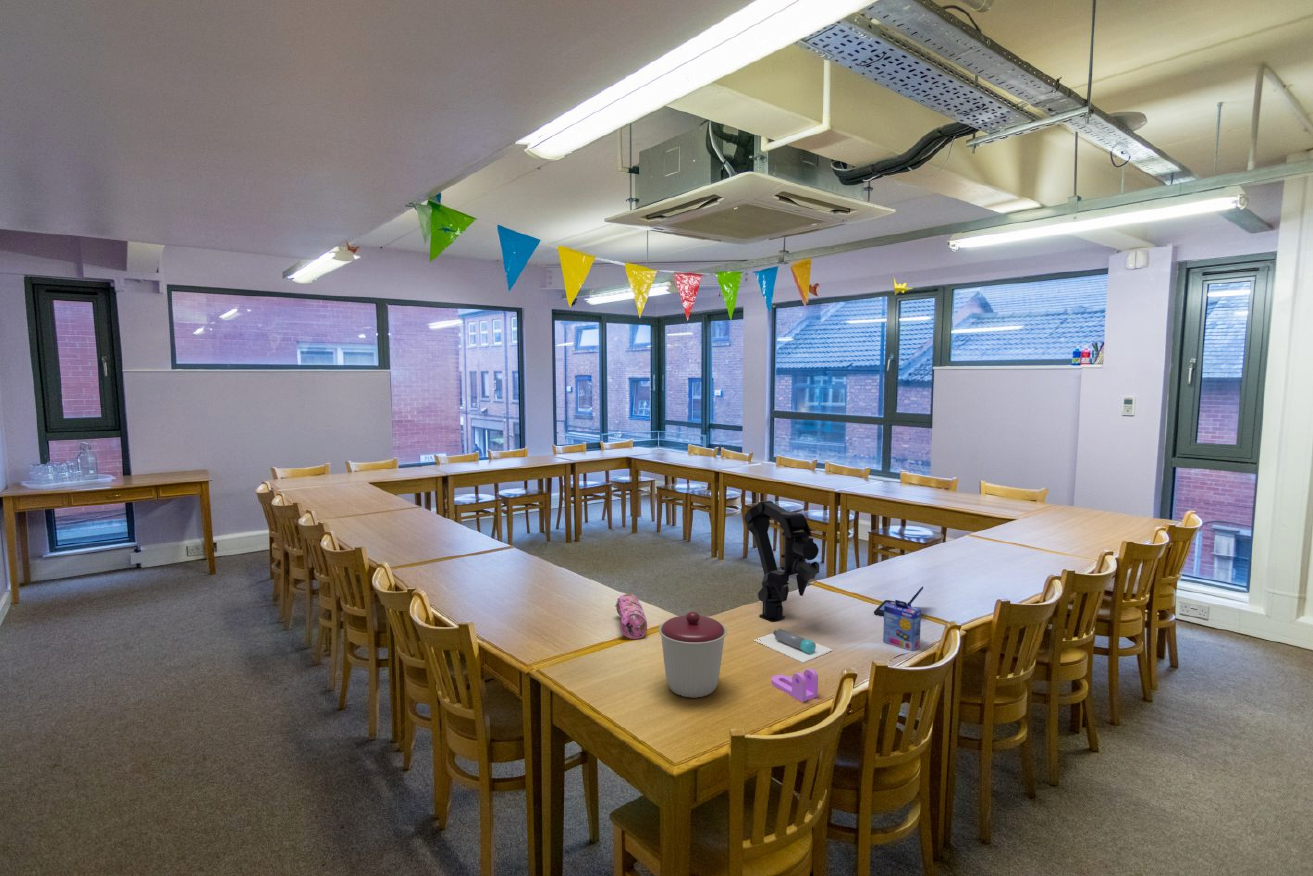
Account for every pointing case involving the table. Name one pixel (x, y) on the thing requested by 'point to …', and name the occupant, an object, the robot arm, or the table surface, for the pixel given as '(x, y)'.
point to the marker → (795, 641)
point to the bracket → (798, 685)
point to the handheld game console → (880, 609)
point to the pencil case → (631, 616)
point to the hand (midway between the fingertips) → (792, 598)
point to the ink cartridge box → (902, 625)
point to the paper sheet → (792, 649)
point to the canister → (692, 653)
